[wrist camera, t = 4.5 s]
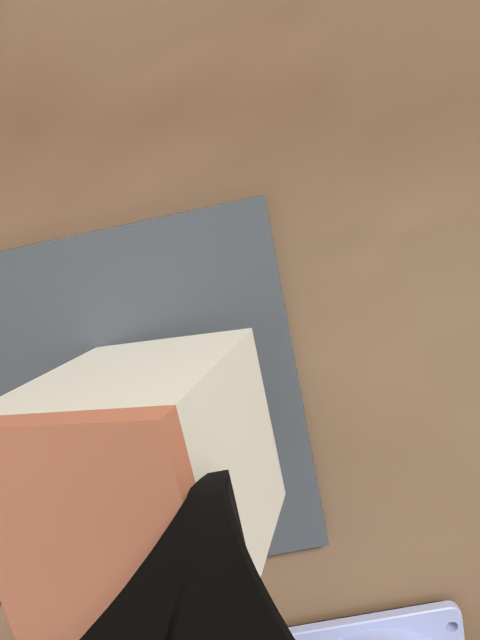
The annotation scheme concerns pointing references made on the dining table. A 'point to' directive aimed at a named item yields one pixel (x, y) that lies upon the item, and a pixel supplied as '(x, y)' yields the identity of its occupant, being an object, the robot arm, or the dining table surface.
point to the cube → (124, 469)
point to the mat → (167, 318)
